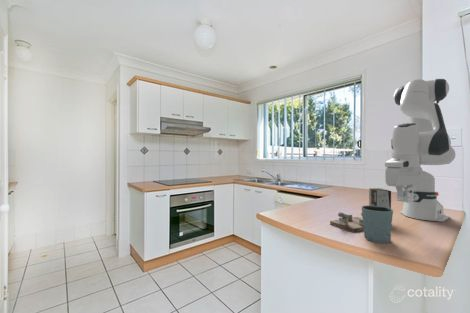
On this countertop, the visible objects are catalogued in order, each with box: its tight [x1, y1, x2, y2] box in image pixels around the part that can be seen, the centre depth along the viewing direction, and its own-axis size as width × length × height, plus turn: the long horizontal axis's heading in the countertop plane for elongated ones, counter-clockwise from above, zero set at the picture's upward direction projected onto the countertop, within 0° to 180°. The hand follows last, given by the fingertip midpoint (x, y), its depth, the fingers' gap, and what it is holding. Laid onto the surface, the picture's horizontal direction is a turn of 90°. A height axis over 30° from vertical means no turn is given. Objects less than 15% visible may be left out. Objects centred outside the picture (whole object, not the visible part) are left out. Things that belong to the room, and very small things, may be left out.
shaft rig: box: [329, 211, 364, 233], centre depth 100 cm, size 21×12×7 cm, turn 115°
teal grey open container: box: [361, 204, 394, 244], centre depth 84 cm, size 10×10×12 cm
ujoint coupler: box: [396, 185, 414, 203], centre depth 89 cm, size 4×5×6 cm
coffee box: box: [368, 187, 392, 209], centre depth 106 cm, size 9×6×16 cm
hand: (405, 195), depth 89 cm, fingers closed on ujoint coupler, 4 cm apart
